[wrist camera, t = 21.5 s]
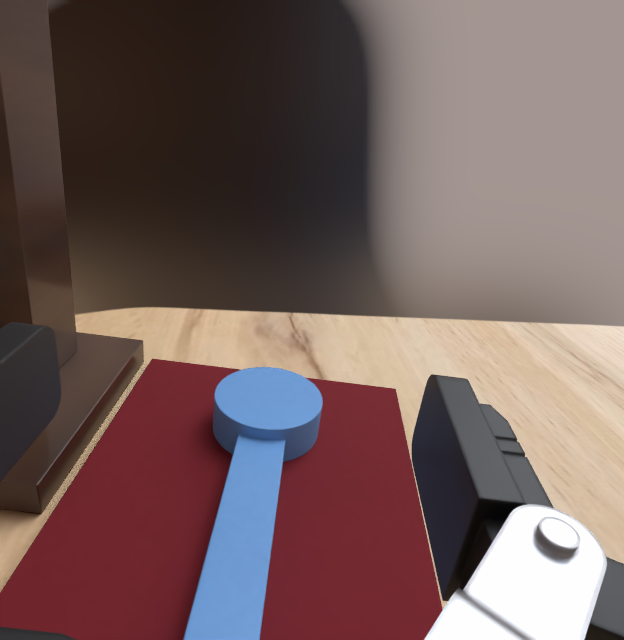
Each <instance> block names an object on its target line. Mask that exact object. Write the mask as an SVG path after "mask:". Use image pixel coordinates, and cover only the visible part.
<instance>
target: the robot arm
mask: <svg viewBox="0 0 624 640" xmlns="http://www.w3.org/2000/svg"><path fill="white" fill-rule="evenodd" d="M60 400H61V381H60V372H59V363H58V353H57V344H56V336H55V333H54V331H53V329H52V328H51V327H48V326H41V325H33V324H25V323H17V322H10V323H8V324H6V325H5V326H3V327H2V328H1V329H0V482H1V481H2V480H3V478H4V477H5V476H6V475H7V474H8V472H9V471H10V470H11V469H12V468H13V466H14V465H15V464H16V463H17V462H18V460H19V459H20V458H21V457H22V456H23V454H24V453H25V452H26V451H27V449H28V448H29V447H30V446H31V445H32V443H33V442H34V441H35V440H36V439H37V437H38V436H39V435H40V434H41V433H42V431H43V430H44V429H45V428H46V427H47V425H48V424H49V423H50V422H51V420H52V419H53V418H54V416H55V415H56V413H57V410H58V408H59V404H60ZM412 462H413V467H414V472H415V476H416V481H417V485H418V490H419V494H420V499H421V503H422V508H423V512H424V517H425V522H426V526H427V531H428V535H429V540H430V544H431V549H432V553H433V558H434V562H435V567H436V572H437V576H438V581H439V585H440V590H441V594H442V599H443V601H448V603H447V604H446V606H445V607H444V609H443V611H442V612H441V614H440V615H439V617H438V619H437V620H436V622H435V623H434V625H433V626H432V628H431V630H430V631H429V633H428V634H427V636H426V638H425V639H424V640H624V564H623V563H620V562H617V561H615V560H612V559H610V558H608V557H606V555H605V552H604V549H603V548H602V546H601V544H600V542H599V541H598V540H597V538H596V537H595V536H594V535H593V534H592V533H591V532H590V531H589V530H588V529H587V528H586V527H585V526H584V525H583V524H581V523H580V522H578V521H577V520H576V519H574V518H572V517H571V516H569V515H567V514H565V513H563V512H561V511H559V510H556V509H554V508H553V506H552V504H551V502H550V500H549V498H548V496H547V494H546V493H545V491H544V489H543V487H542V485H541V483H540V481H539V479H538V477H537V476H536V474H535V472H534V470H533V468H532V466H531V464H530V462H529V460H528V459H527V457H525V453H524V451H523V449H522V447H521V445H520V443H519V442H517V438H516V436H515V434H514V432H513V430H512V428H511V426H510V425H509V423H508V421H507V420H506V419H505V418H504V417H503V416H502V415H500V414H499V413H498V412H497V411H496V410H495V409H494V408H493V407H492V406H491V405H487V404H479V402H478V400H477V398H476V396H475V393H474V391H473V389H472V387H471V385H470V383H469V381H468V380H467V379H464V378H456V377H448V376H440V375H431V376H430V377H429V379H428V381H427V384H426V387H425V391H424V395H423V399H422V403H421V406H420V410H419V414H418V418H417V422H416V426H415V429H414V434H413V440H412ZM0 640H76V639H74V638H72V637H69V636H67V635H65V634H62V633H53V632H44V631H35V630H26V629H17V628H7V627H0Z"/></svg>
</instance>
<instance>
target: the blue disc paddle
mask: <svg viewBox="0 0 624 640" xmlns="http://www.w3.org/2000/svg"><path fill="white" fill-rule="evenodd" d="M322 405H323V399H322V396H321V393H320V391H319V390H318V388H317V387H316V386H315V385H314V384H313V383H312V382H311V381H309V380H308V379H306V378H305V377H303V376H301V375H299V374H296V373H294V372H291V371H288V370H283V369H278V368H270V367H256V368H248V369H243V370H240V371H237V372H234V373H232V374H230V375H228V376H227V377H225V378H224V379H223V380H222V381H221V382H220V383H219V384H218V385H217V387H216V389H215V393H214V413H213V432H214V435H215V438H216V439H217V441H218V443H219V444H220V445H221V446H222V447H223V448H224V449H225V450H227V451H228V452H230V453H231V454H233V456H232V460H231V463H230V467H229V471H228V475H227V478H226V482H225V486H224V489H223V493H222V497H221V501H220V504H219V508H218V512H217V515H216V519H215V523H214V527H213V530H212V534H211V538H210V541H209V545H208V549H207V553H206V556H205V560H204V564H203V568H202V571H201V575H200V579H199V582H198V586H197V590H196V594H195V597H194V601H193V605H192V608H191V612H190V616H189V620H188V623H187V627H186V631H185V635H184V638H183V640H260V634H261V626H262V618H263V611H264V603H265V595H266V588H267V580H268V572H269V565H270V557H271V549H272V542H273V534H274V527H275V519H276V511H277V504H278V496H279V488H280V481H281V473H282V465H283V462H285V461H290V460H293V459H296V458H298V457H300V456H302V455H303V454H305V453H306V452H308V451H309V450H310V449H311V448H312V447H313V445H314V444H315V442H316V440H317V436H318V430H319V424H320V417H321V411H322Z"/></svg>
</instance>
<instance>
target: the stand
mask: <svg viewBox="0 0 624 640" xmlns="http://www.w3.org/2000/svg"><path fill="white" fill-rule="evenodd" d="M10 322H17V323H25V324H33V325H41V326H48V327H51V328H52V329H53V331H54V333H55V336H56V344H57V353H58V363H59V372H60V381H61V400H60V404H59V408H58V410H57V413H56V415H55V416H54V418H53V419H52V420H51V422H50V423H49V424H48V425H47V427H46V428H45V429H44V430H43V431H42V433H41V434H40V435H39V436H38V437H37V439H36V440H35V441H34V442H33V443H32V445H31V446H30V447H29V448H28V449H27V451H26V452H25V453H24V454H23V456H22V457H21V458H20V459H19V460H18V462H17V463H16V464H15V465H14V466H13V468H12V469H11V470H10V471H9V472H8V474H7V475H6V476H5V477H4V478H3V480H2V481H1V482H0V509H8V510H16V511H25V512H34V513H42V512H43V510H44V509H45V507H46V506H47V504H48V503H49V501H50V500H51V498H52V497H53V495H54V494H55V492H56V491H57V489H58V488H59V486H60V485H61V483H62V482H63V480H64V479H65V477H66V476H67V474H68V473H69V472H70V470H71V469H72V467H73V466H74V464H75V463H76V461H77V460H78V458H79V457H80V455H81V454H82V452H83V451H84V449H85V448H86V446H87V445H88V443H89V442H90V440H91V439H92V437H93V436H94V434H95V433H96V431H97V430H98V428H99V427H100V426H101V424H102V423H103V421H104V420H105V418H106V417H107V415H108V414H109V412H110V411H111V409H112V408H113V406H114V405H115V403H116V402H117V400H118V399H119V397H120V396H121V394H122V393H123V391H124V390H125V388H126V387H127V385H128V384H129V382H130V381H131V379H132V378H133V377H134V375H135V374H136V372H137V371H138V369H139V368H140V366H141V365H142V363H143V362H144V356H143V341H142V340H135V339H127V338H119V337H111V336H103V335H95V334H87V333H79V332H76V326H75V314H74V303H73V292H72V280H71V269H70V258H69V246H68V235H67V224H66V212H65V201H64V189H63V178H62V167H61V155H60V144H59V133H58V121H57V110H56V98H55V87H54V76H53V64H52V53H51V42H50V30H49V19H48V8H47V0H0V329H1V328H2V327H3V326H5V325H6V324H8V323H10Z"/></svg>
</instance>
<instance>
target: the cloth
mask: <svg viewBox="0 0 624 640" xmlns="http://www.w3.org/2000/svg"><path fill="white" fill-rule="evenodd" d="M237 371H240V370H239V369H231V368H223V367H215V366H207V365H199V364H191V363H182V362H174V361H166V360H158V359H152V360H151V361H150V363H149V365H148V366H147V368H146V369H145V371H144V372H143V374H142V375H141V377H140V378H139V380H138V382H137V383H136V385H135V386H134V388H133V389H132V391H131V392H130V394H129V395H128V397H127V398H126V400H125V402H124V403H123V405H122V406H121V408H120V409H119V411H118V412H117V414H116V415H115V417H114V418H113V420H112V422H111V423H110V425H109V426H108V428H107V429H106V431H105V432H104V434H103V435H102V437H101V439H100V440H99V442H98V443H97V445H96V446H95V448H94V449H93V451H92V452H91V454H90V455H89V457H88V459H87V460H86V462H85V463H84V465H83V466H82V468H81V469H80V471H79V472H78V474H77V476H76V477H75V479H74V480H73V482H72V483H71V485H70V486H69V488H68V489H67V491H66V492H65V494H64V496H63V497H62V499H61V500H60V502H59V503H58V505H57V506H56V508H55V509H54V511H53V512H52V514H51V516H50V517H49V519H48V520H47V522H46V523H45V525H44V526H43V528H42V529H41V531H40V533H39V534H38V536H37V537H36V539H35V540H34V542H33V543H32V545H31V546H30V548H29V549H28V551H27V553H26V554H25V556H24V557H23V559H22V560H21V562H20V563H19V565H18V566H17V568H16V570H15V571H14V573H13V574H12V576H11V577H10V579H9V580H8V582H7V583H6V585H5V586H4V588H3V590H2V591H1V593H0V627H7V628H17V629H26V630H35V631H44V632H53V633H62V634H65V635H67V636H69V637H72V638H74V639H76V640H183V638H184V635H185V631H186V627H187V623H188V620H189V616H190V612H191V608H192V605H193V601H194V597H195V594H196V590H197V586H198V582H199V579H200V575H201V571H202V568H203V564H204V560H205V556H206V553H207V549H208V545H209V541H210V538H211V534H212V530H213V527H214V523H215V519H216V515H217V512H218V508H219V504H220V501H221V497H222V493H223V489H224V486H225V482H226V478H227V475H228V471H229V467H230V463H231V460H232V456H233V454H231V453H230V452H228V451H227V450H225V449H224V448H223V447H222V446H221V445H220V444H219V443H218V441H217V439H216V438H215V435H214V432H213V413H214V393H215V389H216V387H217V385H218V384H219V383H220V382H221V381H222V380H223V379H224V378H225V377H227V376H228V375H230V374H232V373H234V372H237ZM306 379H308V380H309V381H311V382H312V383H313V384H314V385H315V386H316V387H317V388H318V390H319V391H320V393H321V396H322V399H323V405H322V411H321V417H320V424H319V430H318V436H317V440H316V442H315V444H314V445H313V447H312V448H311V449H310V450H309V451H308V452H306V453H305V454H303V455H302V456H300V457H298V458H296V459H293V460H290V461H285V462H283V465H282V473H281V481H280V488H279V496H278V504H277V511H276V519H275V527H274V534H273V542H272V549H271V557H270V565H269V572H268V580H267V588H266V595H265V603H264V611H263V618H262V626H261V634H260V640H424V639H425V638H426V636H427V634H428V633H429V631H430V630H431V628H432V626H433V625H434V623H435V622H436V620H437V619H438V617H439V615H440V614H441V612H442V611H443V610H442V605H441V600H440V596H439V591H438V586H437V582H436V577H435V572H434V567H433V563H432V558H431V553H430V549H429V544H428V539H427V535H426V530H425V525H424V520H423V516H422V511H421V506H420V502H419V497H418V492H417V488H416V483H415V478H414V473H413V469H412V464H411V459H410V455H409V450H408V445H407V441H406V436H405V431H404V426H403V422H402V417H401V412H400V408H399V403H398V398H397V393H396V389H392V388H384V387H376V386H368V385H360V384H352V383H344V382H336V381H328V380H320V379H311V378H306Z"/></svg>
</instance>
